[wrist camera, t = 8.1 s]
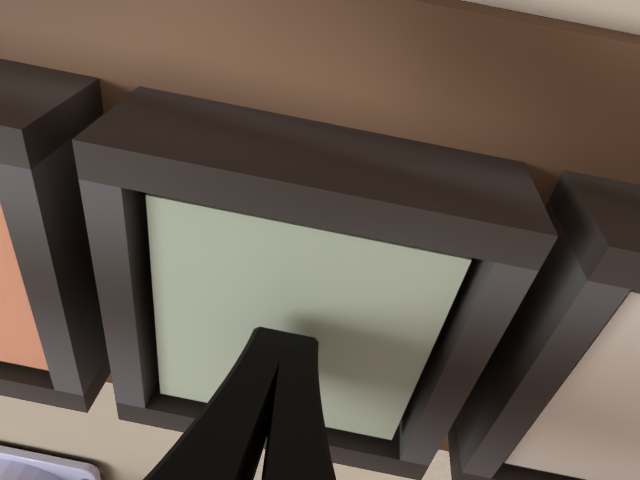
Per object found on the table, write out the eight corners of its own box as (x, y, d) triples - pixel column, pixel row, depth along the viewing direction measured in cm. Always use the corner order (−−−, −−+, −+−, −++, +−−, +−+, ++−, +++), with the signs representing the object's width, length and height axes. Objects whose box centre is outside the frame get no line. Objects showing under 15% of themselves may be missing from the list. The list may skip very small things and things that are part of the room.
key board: (678, 473, 18) (735, 591, 15) (-107, 314, 18) (-206, 400, 15) (1093, 124, 10) (1410, 234, 7) (-360, -160, 10) (-692, -179, 7)
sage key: (392, 379, 15) (391, 440, 13) (185, 338, 15) (160, 393, 13) (460, 204, 11) (471, 260, 9) (181, 149, 11) (145, 194, 9)
